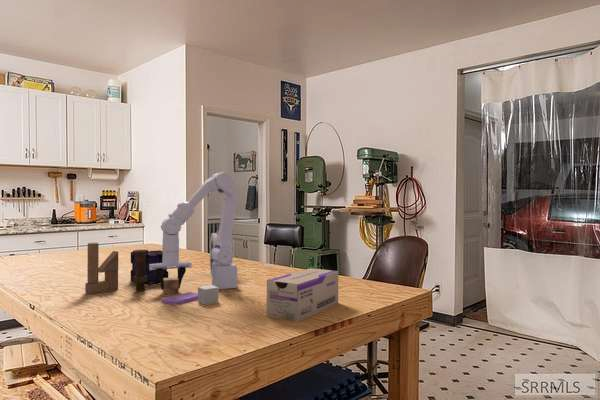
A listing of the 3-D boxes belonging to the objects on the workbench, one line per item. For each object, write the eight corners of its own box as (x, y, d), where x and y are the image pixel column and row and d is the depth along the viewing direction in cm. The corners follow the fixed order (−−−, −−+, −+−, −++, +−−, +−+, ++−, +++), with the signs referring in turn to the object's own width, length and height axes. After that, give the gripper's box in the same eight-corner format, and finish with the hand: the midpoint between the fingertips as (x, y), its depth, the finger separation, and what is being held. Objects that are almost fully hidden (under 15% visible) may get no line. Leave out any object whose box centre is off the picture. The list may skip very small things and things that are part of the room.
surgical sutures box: (310, 299, 142) (310, 268, 142) (338, 303, 137) (338, 271, 137) (266, 316, 121) (266, 280, 121) (297, 322, 115) (297, 284, 115)
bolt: (142, 292, 150) (142, 251, 150) (129, 292, 151) (129, 251, 151) (150, 289, 156) (151, 249, 156) (138, 288, 157) (139, 249, 157)
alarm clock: (209, 271, 194) (209, 229, 194) (225, 271, 196) (226, 229, 196) (214, 280, 174) (214, 233, 174) (232, 279, 176) (232, 232, 176)
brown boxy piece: (176, 290, 154) (177, 277, 154) (178, 293, 149) (178, 279, 149) (162, 291, 152) (162, 278, 152) (164, 294, 147) (164, 280, 147)
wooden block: (118, 289, 156) (118, 241, 156) (90, 294, 147) (90, 243, 147) (113, 288, 158) (113, 240, 158) (84, 293, 150) (85, 243, 149)
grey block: (211, 299, 141) (211, 285, 141) (218, 302, 137) (218, 287, 137) (197, 302, 138) (197, 286, 138) (204, 305, 134) (204, 289, 134)
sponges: (161, 303, 137) (161, 298, 137) (190, 296, 147) (190, 291, 147) (176, 306, 133) (176, 301, 133) (204, 299, 144) (204, 293, 144)
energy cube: (168, 282, 169) (168, 253, 169) (137, 286, 162) (137, 255, 162) (160, 278, 179) (160, 250, 179) (130, 281, 172) (130, 252, 172)
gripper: (150, 253, 144) (150, 292, 144) (192, 251, 150) (192, 289, 150) (149, 251, 151) (148, 288, 151) (190, 249, 156) (189, 285, 156)
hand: (170, 288), depth 151 cm, fingers closed on brown boxy piece, 5 cm apart
